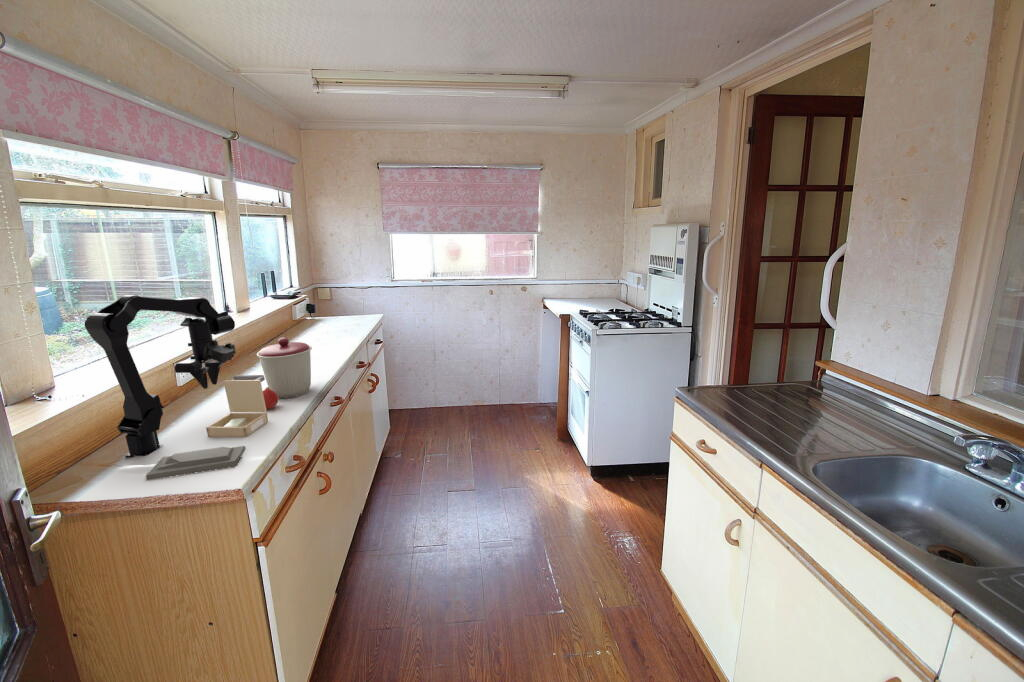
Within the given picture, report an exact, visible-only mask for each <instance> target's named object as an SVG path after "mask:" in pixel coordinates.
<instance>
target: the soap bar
mask: <svg viewBox="0 0 1024 682" xmlns="http://www.w3.org/2000/svg"><path fill="white" fill-rule="evenodd" d="M246 425H247V421H246V418H240V419H232V420H231V421H230V422H228V423H227V424H226V425H225V426H224V427H245V426H246Z"/></svg>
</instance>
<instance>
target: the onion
mask: <svg viewBox="0 0 1024 682" xmlns="http://www.w3.org/2000/svg"><path fill="white" fill-rule="evenodd" d="M262 391H263V396H264V401H265V406H266V410H271V409H274V408H275V406H277V404H278V403H279V398H278V396H277V394H276V393H275V392H274V391H272V390H270V389H269V387H268V386H267V387H265V389H264V390H262Z"/></svg>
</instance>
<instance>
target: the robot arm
mask: <svg viewBox="0 0 1024 682" xmlns="http://www.w3.org/2000/svg"><path fill="white" fill-rule="evenodd" d="M140 311H152V312H170V313H175V314H177V315H182V316H185V318H184V320H183V321H182V322H181V323H180V324H179V326H181V327H188V334H189V339H190V342H188V343H187V346H188V347H191V350H192V355H190V357H189V358H190V359H185V360H182V361H179V362H177V363H175V365H174V366H173V368H174V372H175V373H176V374H180V373H182V374H190V375H191V376H192V377H193V378H194V379H195V380H196V381H197V383H199V385H200V386H201V388H203V389H204V390H207V389H208V388H209V387H208V386H209V384H208V378H209V380H210V382H211V384H212V386H213V385H217V383H218V380H219V379H218V378H219V373H220V370H221V367H222V365H224V364H225V363H226V362H228V361H232V358H234V357H235V354H236V352H237V351H236V347H235V344H234V343H232V342H229V343H226V344H225V345H224V344H222V345H220V344H218V340H217V339H214V338H213V335H214V336H216V335H217V336H218V335H219V334H224V333H229V332H233V331H234V329H235V327H236V323H235V320H234V319H233V317H232V316H231V315H230V314H229V311H227V310H222V311H217V310H216V309H215V308H214V307H213V306H212V305H211V303H210V301H209V299H207V298H206V297H181V298H164V297H163V298H162V297H151V296H150V297H149V296H147V297H146V296H139V295H136V294H135V295H134V294H125V295H122V296H120V297H119V298H118V299H117V300H115V301H114V302H113V303H110V304H108V305H107V306H105V307H103V308H101V309H100V310H99V311H98V312H96V313H92V314H90V315H89V316H88V317H87V318H86V320H85V322H84V327H85V330H86V331H87V333H88V334H89V336H90V337H91V339H92V340H93V341H94V342H95V343H97V344H98V346H100V347H101V348H102V349H103V351H104V353H105V355H106V358H107V359H108V362H109V364H110V366H111V369H112V370H113V374H114V376H115V377H116V381H117V382H118V384H119V387H120V390H121V392H122V394H123V397H124V401H123V405H122V409H123V413H124V416H123V417H122V419H121V420H120V421H119V423H118V425H117V427H116V428H117V430H118V432H119V433H120V434H127V435H125V440H126V445H127V447H128V453H125V454H124V457H125V458H134V457H147V456H148V455H150V454H152V453H154V452H156V451H157V450H159V449H161V448H162V447H164V446H165V445H164V444H160V441H159V438H158V437H159V436H158V433H157V431H159V430H160V426H161V420H162V417H163V416H164V415H163V414H164V411H163V409H164V408H165V406H163V404H162V402H161V398H160V396H159V395H158V394H151V393H149V392H148V391H147V389H146V388H145V385H144V382H143V380H142V378H141V375H140V373H139V370H138V368H137V366H136V363H135V361H134V358H133V356H132V354H131V351H130V348H129V347H128V340H129V329H128V326H129V325H130V324H131V323H132V322H133V321H135V318H136V316H137V314H138V313H139V312H140ZM192 317H194V318H192ZM207 375H208V376H207Z"/></svg>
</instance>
